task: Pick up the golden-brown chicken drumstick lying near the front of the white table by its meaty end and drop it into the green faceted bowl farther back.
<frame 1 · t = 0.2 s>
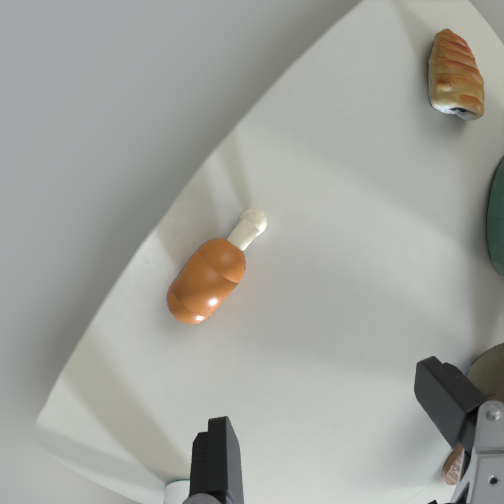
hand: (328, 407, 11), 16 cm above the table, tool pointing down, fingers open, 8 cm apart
grey clay lump: (481, 362, 33), on the table
can: (190, 488, 35), on the table
pastry: (446, 80, 23), on the table
trivet: (489, 438, 40), on the table
drumstick: (215, 263, 26), on the table
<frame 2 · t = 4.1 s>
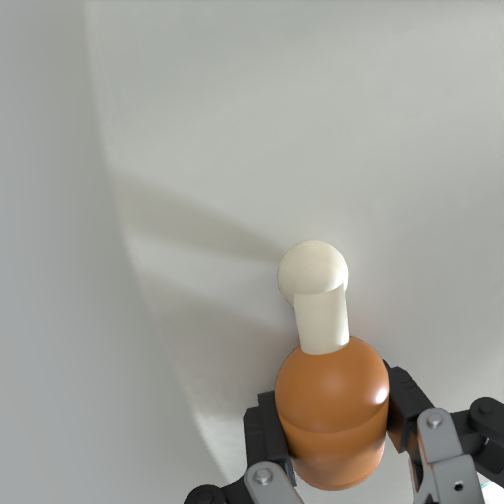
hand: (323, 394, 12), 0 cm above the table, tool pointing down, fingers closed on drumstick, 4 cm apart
can: (471, 495, 21), on the table
drumstick: (321, 369, 12), on the table, touching gripper
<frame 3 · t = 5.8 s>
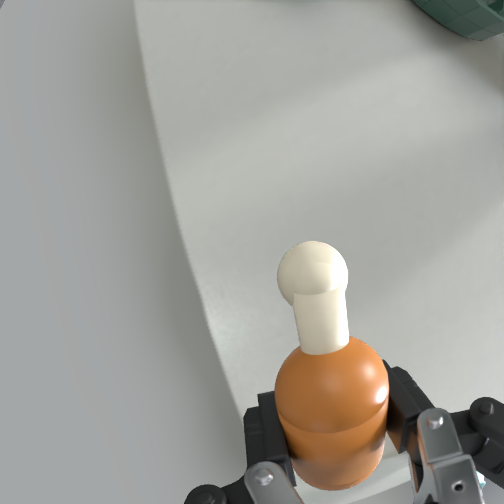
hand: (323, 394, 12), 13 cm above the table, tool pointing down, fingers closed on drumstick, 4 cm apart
drumstick: (321, 369, 12), point 13 cm above the table, touching gripper
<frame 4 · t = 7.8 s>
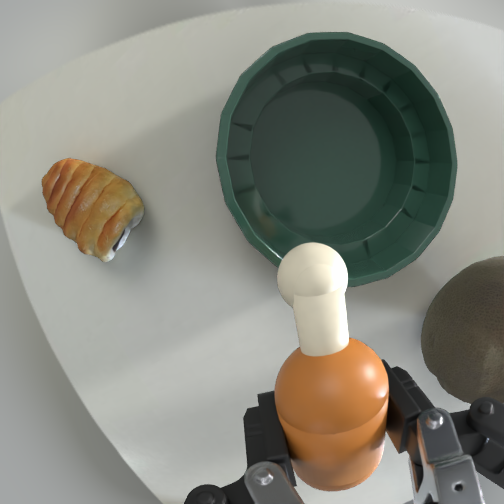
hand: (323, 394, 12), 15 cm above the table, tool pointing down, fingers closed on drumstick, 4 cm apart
grey clay lump: (447, 299, 30), on the table
green faceted bowl: (325, 157, 25), on the table
pastry: (98, 206, 24), on the table
drumstick: (321, 370, 12), point 15 cm above the table, touching gripper
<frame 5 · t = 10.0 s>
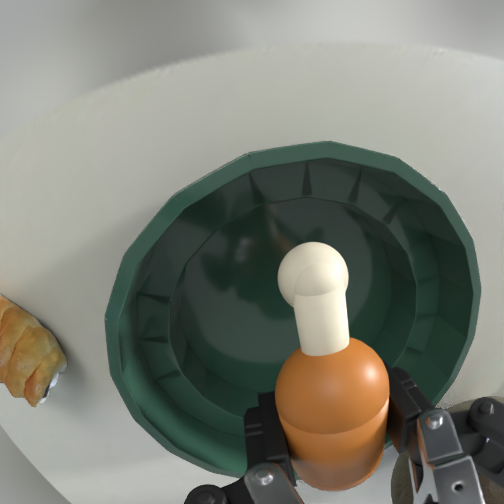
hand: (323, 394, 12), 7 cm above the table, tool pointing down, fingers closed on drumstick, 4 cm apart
grey clay lump: (433, 419, 23), on the table
green faceted bowl: (290, 303, 18), on the table
pastry: (23, 341, 18), on the table
drumstick: (322, 370, 12), point 7 cm above the table, touching gripper
when the fingers open (1 cm above the table, at t = 12.0 s): drumstick stays where it is, resting on green faceted bowl.
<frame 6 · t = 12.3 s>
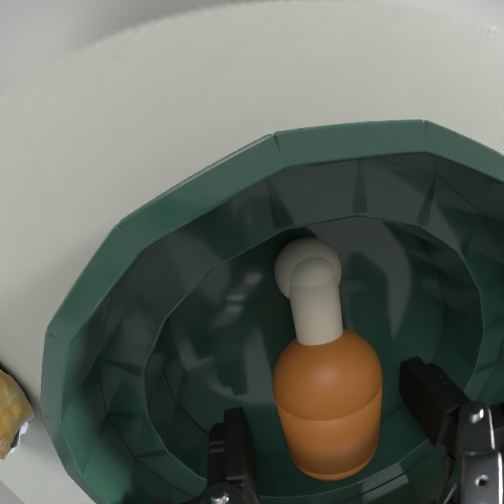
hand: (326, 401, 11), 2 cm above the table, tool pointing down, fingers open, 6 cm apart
green faceted bowl: (314, 353, 13), on the table
drumstick: (317, 362, 13), point 1 cm above the table, touching green faceted bowl
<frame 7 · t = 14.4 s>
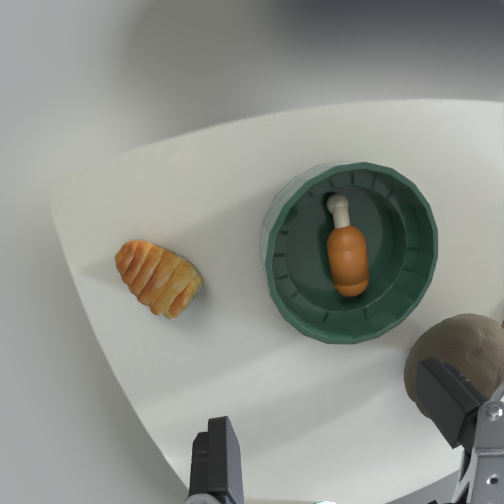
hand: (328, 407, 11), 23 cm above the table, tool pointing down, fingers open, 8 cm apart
grey clay lump: (429, 338, 38), on the table
green faceted bowl: (339, 243, 33), on the table
pastry: (162, 276, 33), on the table
drumstick: (341, 245, 33), resting on green faceted bowl
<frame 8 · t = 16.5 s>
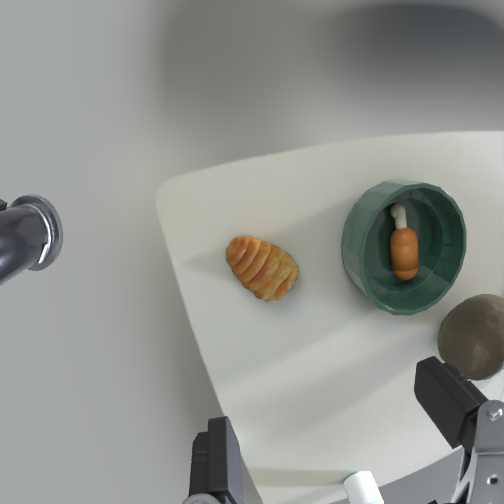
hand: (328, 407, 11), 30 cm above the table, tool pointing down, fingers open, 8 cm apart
grey clay lump: (453, 316, 47), on the table
green faceted bowl: (395, 240, 42), on the table
can: (356, 476, 57), on the table
pastry: (261, 266, 41), on the table
drumstick: (397, 241, 41), point 1 cm above the table, touching green faceted bowl
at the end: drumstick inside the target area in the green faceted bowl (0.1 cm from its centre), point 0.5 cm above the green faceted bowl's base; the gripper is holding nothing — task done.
